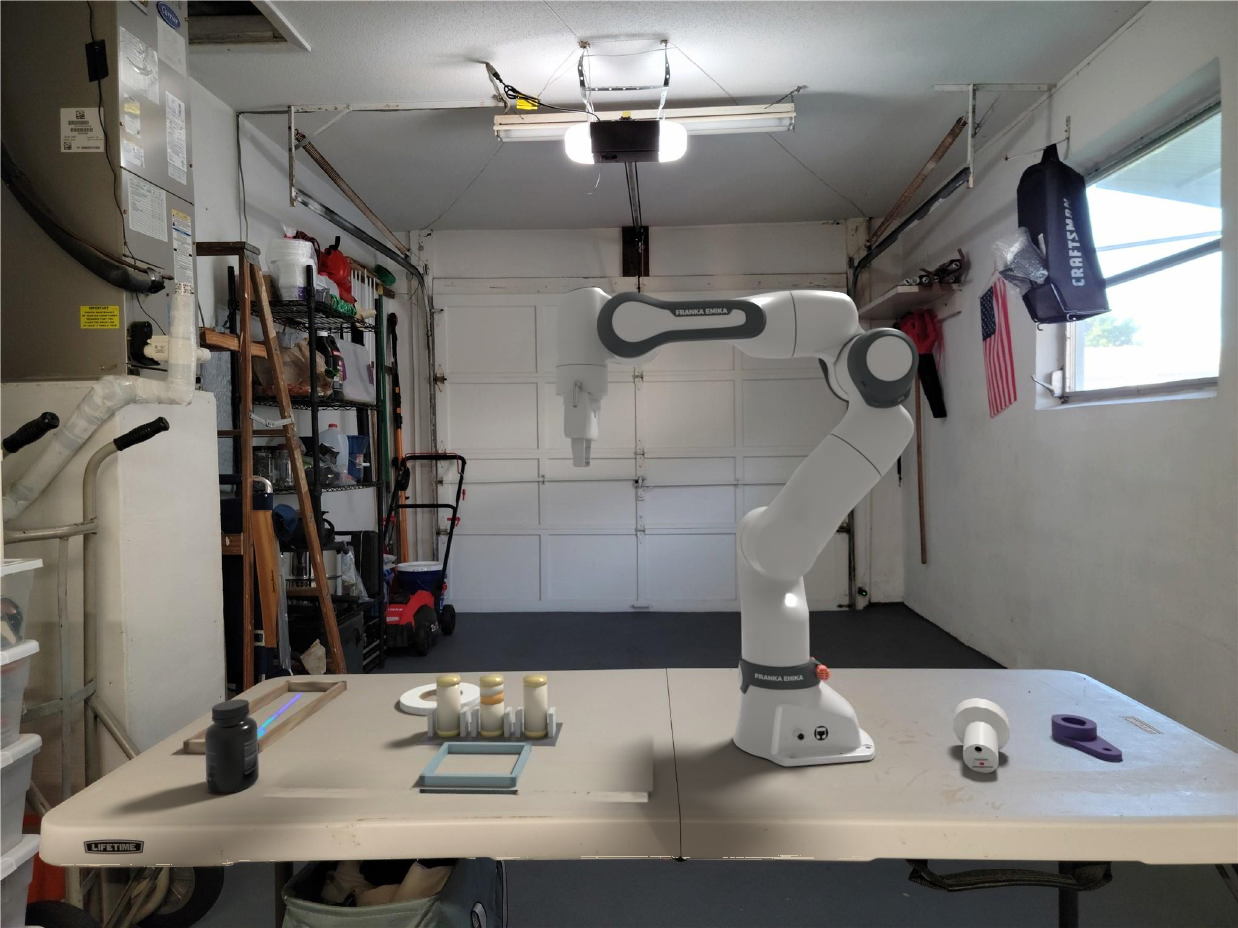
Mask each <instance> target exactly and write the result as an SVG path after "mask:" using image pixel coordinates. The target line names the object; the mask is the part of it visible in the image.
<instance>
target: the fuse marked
mask: <svg viewBox="0 0 1238 928" xmlns="http://www.w3.org/2000/svg"><path fill="white" fill-rule="evenodd" d="M504 684H505V683H504V676H503V675H502V674H498V673H491V674H490V673H489V674H484V675H482V676H480V677H479V688H480V701H479V707H480V735H481V736H482V737H485V738H495V737H499V736H501V735H503V734H504V712H505V701H504V699H505V698H504V697H505V695H504V694H505V693H504V692H505V690H504Z"/></svg>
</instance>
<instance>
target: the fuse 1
mask: <svg viewBox="0 0 1238 928" xmlns="http://www.w3.org/2000/svg"><path fill="white" fill-rule="evenodd" d="M435 681H436V682H435V683H436V695H435V696H436V701H437V735H438V736H439V737H443V738H448V737H454V736H457V735H459V734H460V712H461V711H462V710H461V693H460V682H461V675H460V674H457V673H447V674H441V675H439V676H437V677H436V679H435Z"/></svg>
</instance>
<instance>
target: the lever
mask: <svg viewBox="0 0 1238 928" xmlns="http://www.w3.org/2000/svg"><path fill="white" fill-rule="evenodd" d="M1050 719H1051V736H1052V738H1054V739H1055V740H1057V741H1059V742H1061V743H1063V744H1065V745H1068V746H1070V747H1073V748H1075V749H1077V750H1079V751H1082V752H1084V753H1086V754H1088V755H1091V756H1093V757H1094V758H1095V757H1096V758H1098V759H1101V760H1105V761H1109V762H1120V761H1121V762H1122V760H1123V751H1122V750H1121V749H1119V748H1118V747H1116V746H1115V745H1114V744H1111V743H1110V742H1109V741H1107V740H1106V739H1104V738H1103V737H1101V736H1100V735H1098V725H1097V722H1095V721H1094V720H1093V719H1090V718H1087V717H1085V716H1080V715H1076V714H1069V713H1068V714H1065V713H1060V714H1059V713H1057V714H1054V715H1051V718H1050Z"/></svg>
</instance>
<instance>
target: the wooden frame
mask: <svg viewBox="0 0 1238 928" xmlns="http://www.w3.org/2000/svg"><path fill="white" fill-rule="evenodd" d="M347 683H348V682H347V680H285V681H284V682H282V683H280V684H278V685H277V686H276V687H275V686H274V688H272V689H270V690H269V691H267V692H265V693H264V694H262V695H260V696H258V697H256V698H255V699H254V700H251V701H250V702H249V710H250V714H249V715H248V717H250V715H252V714H254V713H256V712H257V711H259V710H260V709H262V708H263V707H265V706H267V705H268V704H270V703H272V702H273V701H274V700H276V699H278V698H279V697H282V695H285V694H286V693H288V692H289V691H291V692H293V691H295V692H296V691H299V692H302V691H304V692H305V691H306V692H309V691H310V692H313V691H314V692H317V691H318V692H324V691H325V692H324V693H322V694H320V695H319V696H318V697H316V698H315V699H313V700H312V701H311V702H310V703H308V704H306V705H305V706H303V707H302V708H300V709H299V710H297V711H296V712H295V713H293V714H292V715H290V716H289V717H287V718H286V719H285V720H283V721H282V722H280V723H279V724H278V725H276V726H274V727H273V728H272V729H270V730H269V731H268V732H267V731H266V734H264V735H263V736H262V737H260V738H259V739H258V754H260V753H261V752H263V751H264V750H266V749H267V748H269V747H270V746H271V745H272V744H274V743H276V742H277V741H278V740H279V739H281V738H282V737H283V736H285V735H286V734H288V733H289V732H291V731H292V730H293V729H295V728H296V727H297V726H299V725H300V724H302V723H303V722H304V721H305V720H307V719H308V718H309V717H311V716H312V715H314V714H315V713H316V712H317V711H319V710H321V709H322V708H323V707H325V706H326V705H327V704H328V703H330V702H331V701H333V700H334V699H335V698H337V697H338V696H340V695H341V694H342V693H344V692H345V691H347V690H348V687H347V686H348V685H347ZM208 727H209V726H207V727H205V728H204V729H202V730H201V731H199V732H197V733H195V734H193V735H191V737H189V738H187V739H185V740H184V741H183V742H182V743H183V745H182V749H183V750H182V752H183V753H191V754H192V753H194V754H195V753H199V754H202V753H204V754H205V733H206V730H207V729H208Z"/></svg>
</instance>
